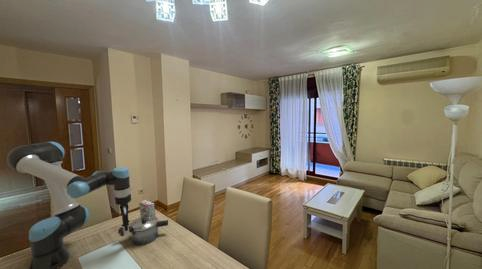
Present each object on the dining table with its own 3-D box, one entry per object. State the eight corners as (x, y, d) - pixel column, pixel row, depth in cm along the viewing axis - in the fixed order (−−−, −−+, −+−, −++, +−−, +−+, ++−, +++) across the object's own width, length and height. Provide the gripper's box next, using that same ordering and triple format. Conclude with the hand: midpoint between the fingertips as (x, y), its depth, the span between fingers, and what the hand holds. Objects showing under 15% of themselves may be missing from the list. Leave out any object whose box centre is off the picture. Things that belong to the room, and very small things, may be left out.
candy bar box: (140, 224, 138) (138, 202, 136) (147, 220, 142) (145, 199, 140) (149, 228, 132) (148, 206, 130) (156, 225, 136) (154, 203, 134)
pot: (116, 250, 111) (114, 236, 110) (124, 234, 126) (122, 221, 125) (167, 240, 119) (166, 227, 118) (169, 227, 133) (168, 214, 132)
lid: (127, 240, 106) (126, 234, 105) (114, 231, 114) (113, 225, 114) (162, 221, 123) (162, 216, 123) (149, 214, 132) (148, 210, 132)
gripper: (132, 197, 104) (135, 238, 107) (129, 189, 115) (132, 227, 117) (115, 201, 100) (119, 243, 103) (114, 193, 110) (118, 231, 113)
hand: (126, 234), depth 110 cm, fingers closed
